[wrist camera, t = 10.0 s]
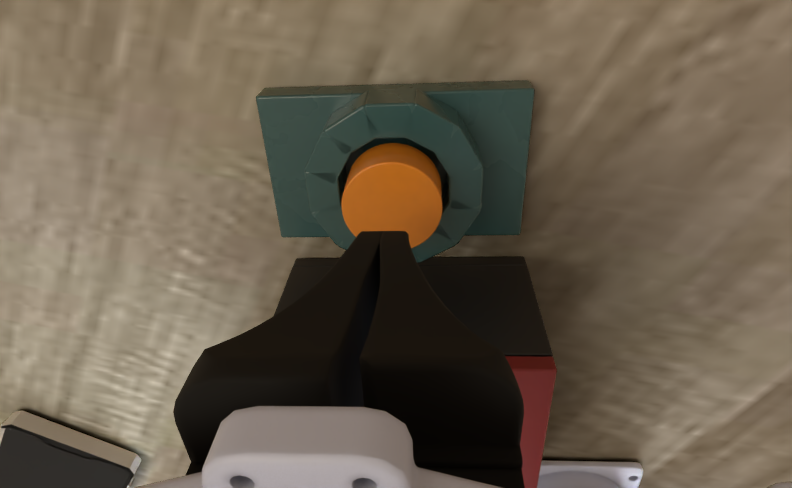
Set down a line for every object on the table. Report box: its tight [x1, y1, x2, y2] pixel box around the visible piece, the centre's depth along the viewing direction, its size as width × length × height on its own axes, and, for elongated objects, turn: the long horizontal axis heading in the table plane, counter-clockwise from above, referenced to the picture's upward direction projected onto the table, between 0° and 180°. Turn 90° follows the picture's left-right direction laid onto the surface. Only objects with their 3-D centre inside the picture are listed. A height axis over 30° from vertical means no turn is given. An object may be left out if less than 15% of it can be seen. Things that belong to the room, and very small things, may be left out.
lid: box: [505, 356, 557, 488], centre depth 21 cm, size 11×12×1 cm
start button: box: [341, 143, 443, 248], centre depth 18 cm, size 3×3×2 cm
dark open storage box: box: [274, 257, 553, 357], centre depth 24 cm, size 10×12×6 cm
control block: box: [256, 80, 535, 263], centre depth 20 cm, size 6×10×3 cm, turn 92°
